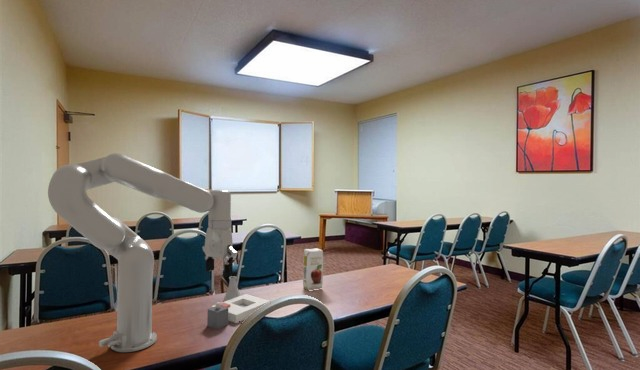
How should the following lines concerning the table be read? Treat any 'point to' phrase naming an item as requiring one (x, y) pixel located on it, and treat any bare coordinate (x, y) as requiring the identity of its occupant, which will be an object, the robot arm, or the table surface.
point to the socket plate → (242, 307)
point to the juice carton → (313, 269)
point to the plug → (217, 316)
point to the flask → (232, 289)
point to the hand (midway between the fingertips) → (219, 272)
